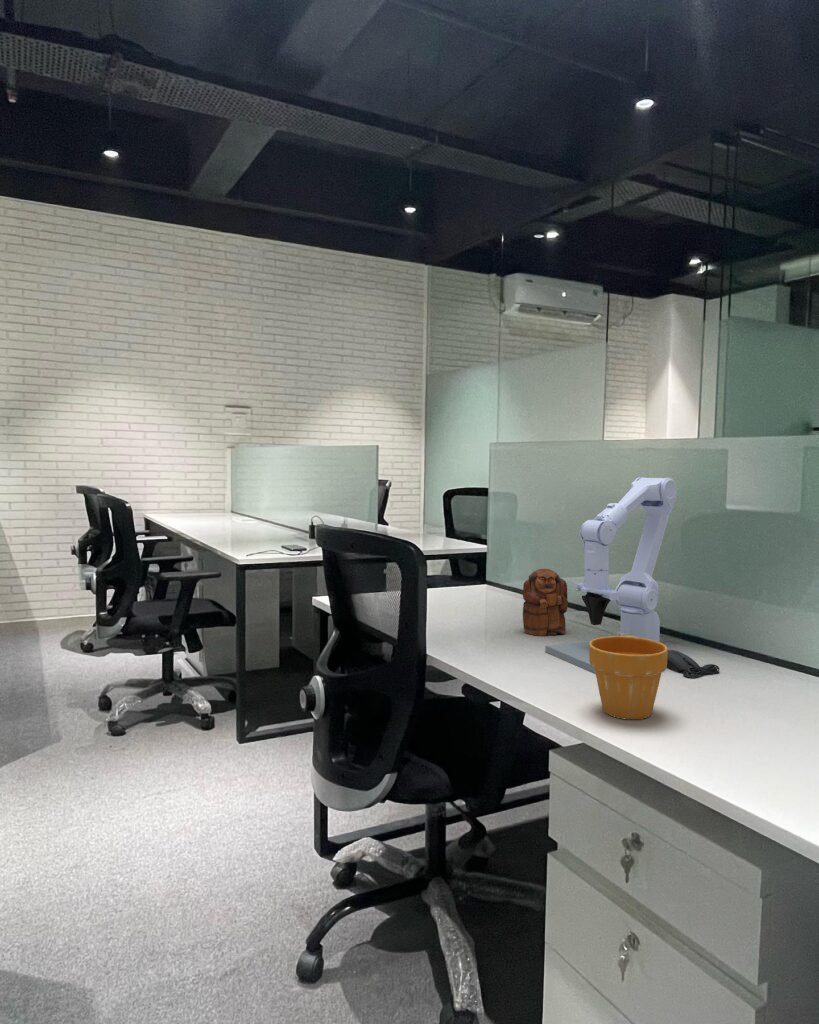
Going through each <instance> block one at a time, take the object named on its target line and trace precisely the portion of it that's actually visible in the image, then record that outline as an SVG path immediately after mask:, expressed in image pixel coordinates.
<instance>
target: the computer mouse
mask: <svg viewBox="0 0 819 1024" xmlns="http://www.w3.org/2000/svg"><path fill="white" fill-rule="evenodd" d="M666 670H669V671H672V672H675V673H678V674H679V673H682V677H684V678H686V679H696V678H698V677H700V676H702V675H703V676H707V675H713V674H714V675H718V674H719V673H720V667H719V665H718V664H715V663H714V664H712V663H707V664H704V665H703V666H700V665H699V664H698V663H697V662H696V661H695V660H694V659H693V658H692V657H691V656H689V655H687V654H685V653H683V652H681V651H678V650H675V649H673V650H672V649H668V655H667V668H666ZM714 675H713V676H714Z"/></svg>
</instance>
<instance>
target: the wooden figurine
mask: <svg viewBox="0 0 819 1024" xmlns="http://www.w3.org/2000/svg"><path fill="white" fill-rule="evenodd" d="M567 584H568V583H567V581H566V580H564V579H563V578H561V577H560V576H559V574H557V572H556V571H554V570H553V569H549V568H539V569H536V570H534V571H533V572H531V574H529V575H528V578H527V580H525V581H524V582H523V591H522V597H523V598H522V599H523V603H522V623H523V624H522V625H523V630H524V633H525V634H526V635H530V636H537V637H546V636H557V635H566V630H567V629H566V627H567V626H566V617H565V613H567V611H568V605H569V604H568V603H569V601H568V585H567Z"/></svg>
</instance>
